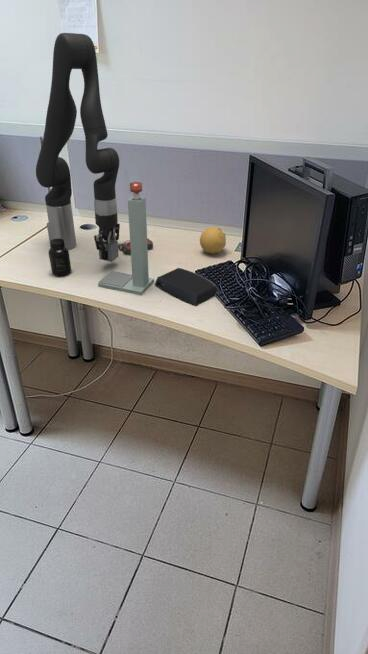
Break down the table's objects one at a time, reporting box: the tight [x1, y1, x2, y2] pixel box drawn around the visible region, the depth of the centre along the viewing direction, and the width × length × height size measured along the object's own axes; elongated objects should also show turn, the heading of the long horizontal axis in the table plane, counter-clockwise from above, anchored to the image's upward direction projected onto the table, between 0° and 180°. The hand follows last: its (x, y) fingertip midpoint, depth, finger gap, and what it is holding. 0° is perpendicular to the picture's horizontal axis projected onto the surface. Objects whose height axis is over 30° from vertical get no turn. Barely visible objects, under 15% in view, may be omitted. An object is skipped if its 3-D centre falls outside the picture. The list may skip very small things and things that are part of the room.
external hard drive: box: [154, 267, 219, 307], centre depth 157 cm, size 13×19×4 cm
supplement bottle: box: [48, 239, 72, 278], centre depth 164 cm, size 7×7×12 cm
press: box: [97, 195, 155, 296], centre depth 152 cm, size 16×10×30 cm, turn 69°
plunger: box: [129, 181, 143, 200], centre depth 142 cm, size 4×4×8 cm
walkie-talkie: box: [118, 237, 154, 256], centre depth 183 cm, size 9×4×20 cm
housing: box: [98, 240, 120, 263], centre depth 168 cm, size 5×5×7 cm
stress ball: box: [199, 226, 227, 255], centre depth 179 cm, size 10×10×10 cm
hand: (108, 256), depth 169 cm, fingers closed on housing, 5 cm apart
